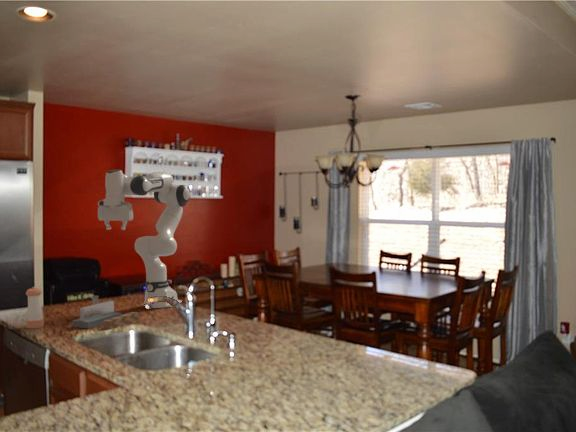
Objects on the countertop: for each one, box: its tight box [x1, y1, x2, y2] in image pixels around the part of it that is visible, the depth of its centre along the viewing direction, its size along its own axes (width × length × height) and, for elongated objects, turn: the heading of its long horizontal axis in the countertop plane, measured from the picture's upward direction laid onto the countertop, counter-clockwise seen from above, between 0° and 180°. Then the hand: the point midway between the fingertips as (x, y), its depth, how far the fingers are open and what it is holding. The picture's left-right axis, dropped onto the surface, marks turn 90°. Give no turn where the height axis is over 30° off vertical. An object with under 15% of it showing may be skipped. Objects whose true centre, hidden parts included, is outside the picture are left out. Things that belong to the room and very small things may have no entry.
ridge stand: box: [72, 300, 122, 330], centre depth 269 cm, size 22×10×9 cm, turn 155°
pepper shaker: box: [25, 286, 44, 329], centre depth 263 cm, size 7×7×19 cm
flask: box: [91, 295, 100, 305], centre depth 287 cm, size 7×7×10 cm
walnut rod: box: [102, 311, 139, 330], centre depth 266 cm, size 20×4×4 cm, turn 156°
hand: (115, 229), depth 276 cm, fingers open, 8 cm apart
